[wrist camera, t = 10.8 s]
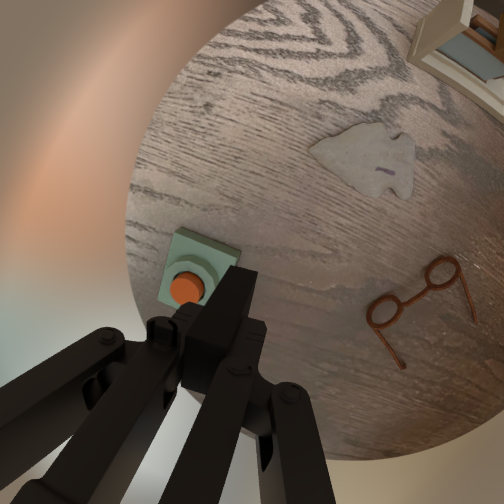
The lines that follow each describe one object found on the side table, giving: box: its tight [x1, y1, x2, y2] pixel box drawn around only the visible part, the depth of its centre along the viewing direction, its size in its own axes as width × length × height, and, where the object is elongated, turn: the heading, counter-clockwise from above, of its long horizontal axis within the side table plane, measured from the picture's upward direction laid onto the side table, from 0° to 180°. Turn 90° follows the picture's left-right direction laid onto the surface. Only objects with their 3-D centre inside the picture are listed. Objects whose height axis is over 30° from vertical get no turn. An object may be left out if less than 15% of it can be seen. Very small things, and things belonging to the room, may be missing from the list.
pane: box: [469, 12, 504, 80], centre depth 16 cm, size 8×5×13 cm, turn 70°
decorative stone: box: [308, 122, 415, 200], centre depth 30 cm, size 8×12×3 cm
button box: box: [158, 227, 241, 309], centre depth 37 cm, size 8×10×4 cm
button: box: [170, 272, 204, 305], centre depth 35 cm, size 4×4×2 cm
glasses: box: [366, 256, 478, 370], centre depth 33 cm, size 13×13×5 cm
